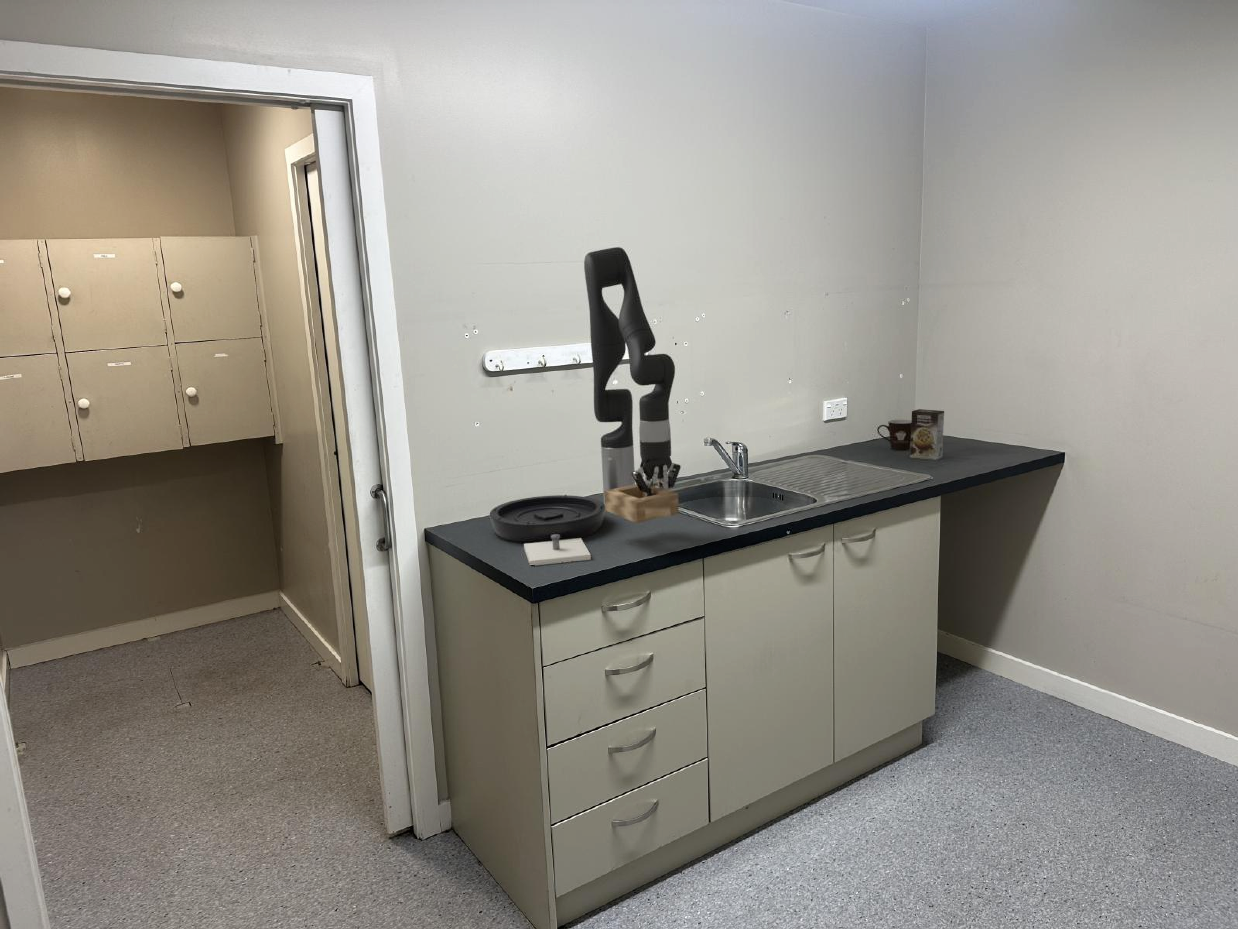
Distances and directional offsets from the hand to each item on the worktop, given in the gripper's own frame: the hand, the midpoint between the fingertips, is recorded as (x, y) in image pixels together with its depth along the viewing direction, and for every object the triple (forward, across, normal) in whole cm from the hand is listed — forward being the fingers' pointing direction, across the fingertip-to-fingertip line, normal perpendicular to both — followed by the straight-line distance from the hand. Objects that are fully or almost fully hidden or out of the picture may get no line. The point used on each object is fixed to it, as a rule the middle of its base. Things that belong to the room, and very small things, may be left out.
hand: (657, 506), depth 209 cm
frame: (0, +5, 0) cm, 5 cm away
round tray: (+9, +17, -26) cm, 33 cm away
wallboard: (+8, +26, -5) cm, 28 cm away
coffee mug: (+11, -130, -35) cm, 135 cm away
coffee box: (+10, -124, -18) cm, 126 cm away
